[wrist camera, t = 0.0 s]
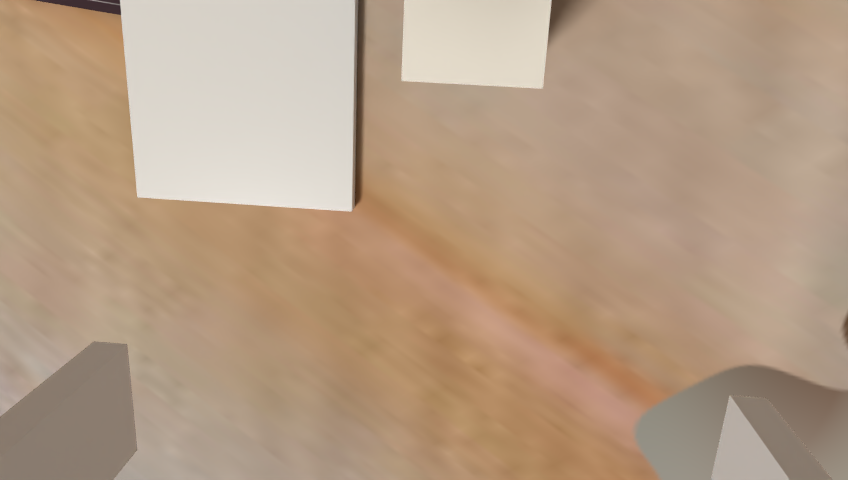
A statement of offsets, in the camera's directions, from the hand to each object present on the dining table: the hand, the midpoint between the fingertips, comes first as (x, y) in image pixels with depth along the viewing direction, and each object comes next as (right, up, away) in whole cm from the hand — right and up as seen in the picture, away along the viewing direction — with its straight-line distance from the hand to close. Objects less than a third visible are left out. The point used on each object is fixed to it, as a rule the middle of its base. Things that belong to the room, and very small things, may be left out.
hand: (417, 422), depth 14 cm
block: (+3, +17, +24) cm, 29 cm away
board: (-11, +16, +25) cm, 32 cm away
